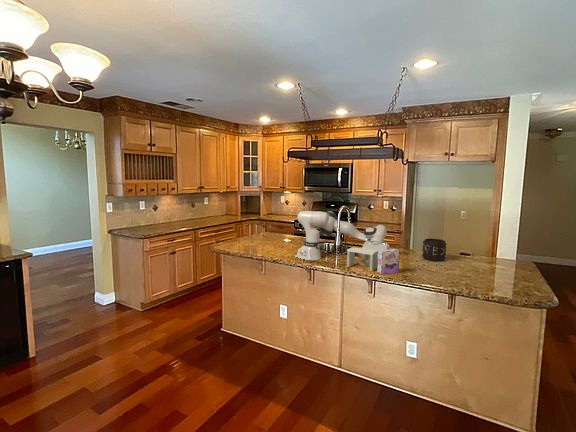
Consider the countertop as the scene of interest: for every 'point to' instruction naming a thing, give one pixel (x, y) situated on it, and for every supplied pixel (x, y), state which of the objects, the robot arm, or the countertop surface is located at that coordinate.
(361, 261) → the birch block
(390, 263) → the candy box
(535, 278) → the countertop surface
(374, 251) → the tunnel
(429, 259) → the lettered black canister
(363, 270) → the trap pit
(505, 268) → the countertop surface
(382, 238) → the robot arm
